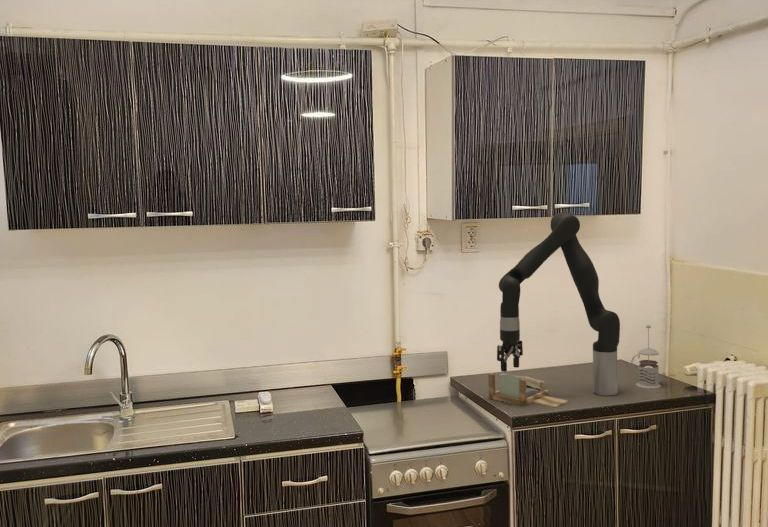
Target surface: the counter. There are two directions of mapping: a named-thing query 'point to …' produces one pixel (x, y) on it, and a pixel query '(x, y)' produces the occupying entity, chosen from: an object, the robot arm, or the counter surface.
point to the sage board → (509, 385)
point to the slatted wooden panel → (550, 401)
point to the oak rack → (521, 401)
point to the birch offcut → (534, 382)
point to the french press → (642, 378)
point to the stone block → (531, 391)
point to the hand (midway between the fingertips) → (510, 369)
